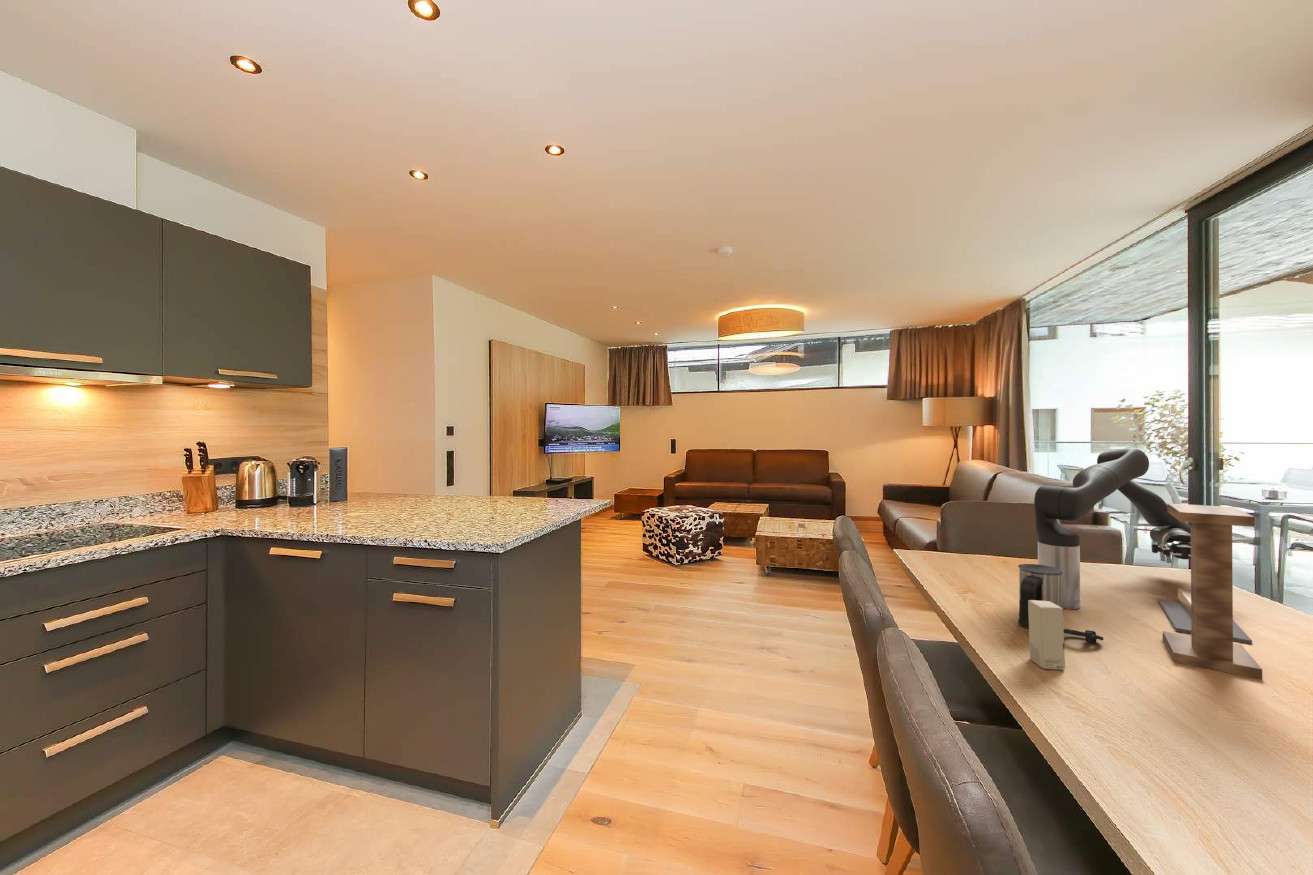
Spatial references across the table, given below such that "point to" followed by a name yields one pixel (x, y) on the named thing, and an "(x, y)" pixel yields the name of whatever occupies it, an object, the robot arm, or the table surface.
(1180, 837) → the table surface
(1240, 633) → the charcoal mat
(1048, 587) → the milk frother
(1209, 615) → the walnut pedestal
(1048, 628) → the box
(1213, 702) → the table surface
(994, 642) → the table surface
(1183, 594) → the birch bar
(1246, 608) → the table surface
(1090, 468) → the robot arm
